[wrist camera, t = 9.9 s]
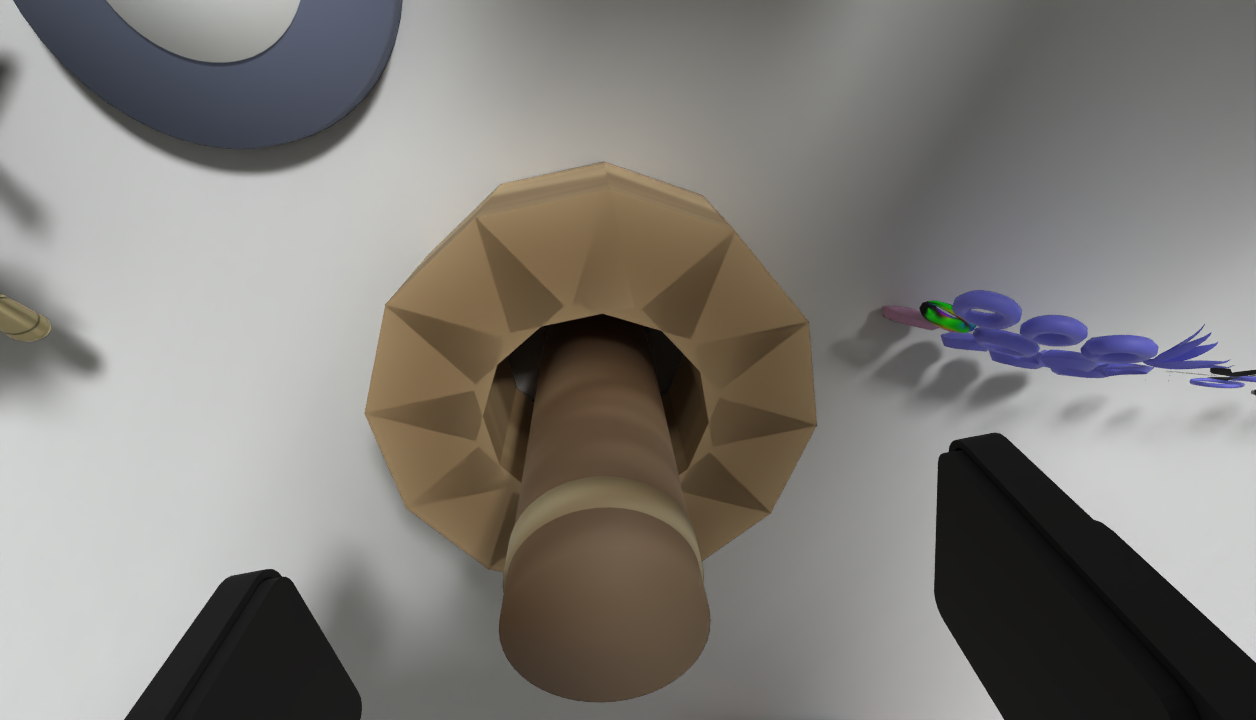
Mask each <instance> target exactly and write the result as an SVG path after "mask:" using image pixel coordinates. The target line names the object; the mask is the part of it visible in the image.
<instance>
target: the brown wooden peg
mask: <svg viewBox="0 0 1256 720" xmlns="http://www.w3.org/2000/svg"><path fill="white" fill-rule="evenodd" d="M703 583H704V573H703V565H702V561H701V557H700V552H699V548H698V544H697V539H696V535H695V532H694V528H693V525H692V523H691V521H690V519H689V517H688V514H687V509H686V505H685V500H684V496H683V492H682V487H681V483H680V478H679V474H678V470H677V465H676V461H675V456H674V452H673V448H672V443H671V439H670V434H669V430H668V425H667V421H666V417H665V412H664V408H663V403H662V399H661V395H660V390H659V386H658V381H657V377H656V373H655V368H654V364H653V359H652V355H651V351H650V346H649V342H648V337H647V334H646V331H645V328H644V326H643V325H640V324H636V323H633V322H630V321H626V320H623V319H620V318H616V317H613V316H609V315H606V314H598V315H594V316H589V317H584V318H579V319H574V320H570V321H565V322H560V323H555V324H550V325H549V327H548V329H547V332H546V335H545V339H544V345H543V351H542V358H541V364H540V370H539V376H538V383H537V389H536V395H535V401H534V408H533V414H532V420H531V427H530V433H529V439H528V445H527V452H526V458H525V464H524V470H523V477H522V483H521V489H520V496H519V502H518V508H517V514H516V521H515V526H514V528H513V530H512V533H511V536H510V540H509V545H508V551H507V557H506V563H505V569H504V575H503V592H504V596H503V602H502V608H501V615H500V622H499V635H500V642H501V645H502V648H503V651H504V653H505V655H506V657H507V659H508V661H509V662H510V663H511V665H512V666H513V667H514V669H515V670H516V671H517V672H518V673H519V674H520V675H521V676H522V677H524V678H525V679H526V680H528V681H529V682H530V683H532V684H533V685H535V686H537V687H538V688H540V689H542V690H544V691H547V692H549V693H551V694H554V695H557V696H560V697H563V698H567V699H572V700H577V701H585V702H614V701H621V700H628V699H632V698H636V697H640V696H643V695H646V694H649V693H652V692H654V691H656V690H658V689H660V688H663V687H664V686H666V685H668V684H670V683H671V682H673V681H674V680H676V679H677V678H678V677H680V676H681V675H682V674H684V673H685V672H686V671H687V670H688V669H689V668H690V667H691V666H692V665H693V664H694V662H695V661H696V660H697V659H698V657H699V656H700V654H701V652H702V651H703V649H704V647H705V644H706V642H707V639H708V635H709V631H710V621H711V620H710V611H709V606H708V602H707V597H706V593H705V589H704V584H703Z"/></svg>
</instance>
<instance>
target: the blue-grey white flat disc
mask: <svg viewBox="0 0 1256 720" xmlns="http://www.w3.org/2000/svg"><path fill="white" fill-rule="evenodd" d="M13 1H14V2H15V4H16V6H17V7H18V9H19V11H20V12H21V14H22V15H23V17H24V18H25V19H26V21H27V22H28V23H29V25H30V26H31V27H32V29H33V30H34V32H35V33H36V34H37V36H38V37H39V38H40V40H41V41H42V42H43V43H44V44H45V45H46V46H47V48H48V49H49V50H50V51H51V52H52V53H53V54H54V55H55V57H56V58H57V59H58V60H59V61H60V62H61V63H62V64H63V65H64V66H65V67H66V68H67V69H68V70H69V71H70V72H71V73H72V74H73V75H74V76H76V77H77V78H78V79H79V80H80V81H81V82H82V83H83V84H84V85H85V86H87V87H88V88H89V89H90V90H92V91H93V92H94V93H96V94H97V95H98V96H100V97H101V98H102V99H103V100H105V101H106V102H107V103H109V104H110V105H112V106H114V107H115V108H117V109H118V110H120V111H121V112H123V113H125V114H126V115H128V116H129V117H131V118H133V119H135V120H137V121H139V122H141V123H143V124H145V125H147V126H149V127H151V128H153V129H155V130H157V131H160V132H162V133H165V134H168V135H170V136H173V137H176V138H178V139H181V140H185V141H189V142H193V143H197V144H201V145H205V146H212V147H221V148H229V149H254V148H261V147H267V146H274V145H279V144H283V143H288V142H292V141H295V140H298V139H302V138H305V137H308V136H311V135H314V134H316V133H318V132H320V131H322V130H324V129H326V128H328V127H330V126H332V125H333V124H335V123H336V122H338V121H339V120H340V119H342V118H343V117H345V116H346V115H348V114H349V113H350V112H351V111H352V110H353V109H354V108H355V107H356V106H357V105H358V104H359V103H360V102H361V101H362V100H363V99H364V98H365V96H366V95H367V94H368V93H369V91H370V90H371V89H372V87H373V86H374V85H375V84H376V82H377V80H378V78H379V76H380V75H381V73H382V71H383V69H384V67H385V66H386V64H387V61H388V59H389V56H390V53H391V51H392V48H393V46H394V43H395V39H396V35H397V31H398V26H399V22H400V17H401V8H402V0H13Z"/></svg>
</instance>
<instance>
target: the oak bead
mask: <svg viewBox="0 0 1256 720" xmlns="http://www.w3.org/2000/svg"><path fill="white" fill-rule="evenodd" d="M598 314H606V315H609V316H613V317H616V318H620V319H623V320H626V321H630V322H633V323H636V324H640V325H643V326H647V327H650V328H653V329H657V330H660V331H662V332H663V333H664V334H665V335H666V336H667V337H668V338H669V339H670V340H671V341H672V342H673V343H674V344H675V345H676V347H677V348H678V349H679V350H680V351H681V352H682V353H683V354H684V355H683V357H682V360H681V362H680V364H679V367H678V369H677V372H676V374H675V377H674V379H673V382H672V384H671V387H670V389H669V391H668V392H667V393H666V394H665V395H663V396H662V397H661V399H662V403H663V408H664V412H665V417H666V421H667V425H668V430H669V434H670V439H671V443H672V448H673V452H674V456H675V461H676V465H677V470H678V474H679V478H680V483H681V487H682V492H683V496H684V500H685V505H686V509H687V514H688V517H689V519H690V521H691V523H692V525H693V528H694V532H695V535H696V539H697V544H698V548H699V552H700V557H701V561H703V560H704V559H706V558H707V557H709V556H710V555H711V554H713V553H714V552H716V551H717V550H719V549H720V548H722V547H723V546H724V545H726V544H727V543H729V542H730V541H732V540H733V539H734V538H736V537H737V536H739V535H740V534H742V533H743V532H745V531H746V530H747V529H749V528H750V527H752V526H753V525H755V524H756V523H757V522H759V521H760V520H762V519H763V518H765V517H766V516H768V515H769V514H771V512H772V510H773V508H774V506H775V504H776V502H777V500H778V498H779V496H780V495H781V493H782V491H783V489H784V487H785V485H786V483H787V481H788V479H789V477H790V476H791V474H792V472H793V470H794V468H795V466H796V464H797V462H798V460H799V458H800V457H801V455H802V453H803V451H804V449H805V447H806V445H807V443H808V441H809V439H810V438H811V436H812V434H813V432H814V430H815V428H816V426H817V420H816V408H815V395H814V383H813V370H812V358H811V346H810V333H809V321H808V320H807V319H806V318H805V317H804V316H803V314H802V313H801V312H800V311H799V309H798V308H797V307H796V306H795V304H794V303H793V302H792V301H791V299H790V298H789V297H788V296H787V295H786V293H785V292H784V291H783V290H782V288H781V287H780V286H779V285H778V283H777V282H776V281H775V280H774V279H773V277H772V276H771V275H770V274H769V272H768V271H767V270H766V269H765V267H764V266H763V265H762V264H761V262H760V261H759V260H758V259H757V258H756V256H755V255H754V254H753V253H752V251H751V250H750V249H749V248H748V246H747V245H746V244H745V243H744V242H743V240H742V239H741V238H740V237H739V235H738V234H737V233H736V232H735V230H734V229H733V228H732V227H731V226H730V225H729V224H728V223H727V222H726V220H725V219H724V218H723V217H722V216H721V215H720V214H719V213H718V212H717V211H716V210H715V209H714V207H713V206H712V205H711V204H710V203H709V202H708V201H707V200H706V199H705V198H704V197H703V196H702V195H700V194H697V193H694V192H691V191H688V190H685V189H682V188H679V187H676V186H673V185H670V184H667V183H665V182H662V181H659V180H656V179H653V178H650V177H647V176H644V175H641V174H638V173H635V172H632V171H630V170H627V169H624V168H621V167H618V166H615V165H612V164H609V163H606V162H601V163H596V164H592V165H587V166H582V167H578V168H573V169H568V170H564V171H559V172H555V173H550V174H545V175H541V176H536V177H531V178H527V179H522V180H518V181H513V182H508V183H504V184H500V185H499V186H498V187H497V188H496V189H495V190H494V191H493V192H492V193H491V194H490V195H489V196H488V197H487V198H486V199H485V200H484V201H483V202H482V203H481V204H480V205H479V206H478V207H477V208H476V209H475V210H474V211H473V212H472V213H471V214H470V215H469V216H468V217H467V218H466V219H465V220H464V221H463V222H462V223H460V224H459V225H458V226H457V227H456V228H455V229H454V230H453V231H452V232H451V233H450V234H449V235H448V236H447V237H446V238H445V239H444V240H443V241H442V242H441V243H440V244H439V245H438V246H437V247H436V248H435V249H434V250H433V251H432V252H431V253H429V255H428V256H427V257H426V258H425V259H424V260H423V262H422V263H421V264H420V265H419V266H418V267H417V269H416V270H415V271H414V272H413V273H412V274H411V275H410V277H409V278H408V279H407V280H406V281H405V282H404V284H403V285H402V286H401V287H400V288H399V289H398V291H397V292H396V293H395V294H394V295H393V296H392V297H391V299H390V300H389V301H388V302H387V303H386V304H385V310H384V315H383V320H382V325H381V330H380V336H379V341H378V346H377V351H376V357H375V362H374V367H373V372H372V377H371V383H370V388H369V393H368V398H367V404H366V409H365V415H366V418H367V420H368V422H369V425H370V427H371V429H372V431H373V434H374V436H375V438H376V440H377V443H378V445H379V447H380V450H381V452H382V454H383V456H384V459H385V461H386V463H387V465H388V468H389V470H390V472H391V475H392V477H393V479H394V481H395V484H396V486H397V488H398V491H399V493H400V495H401V497H402V500H403V502H404V504H405V506H406V508H407V509H408V510H409V511H411V512H412V513H414V514H415V515H416V516H418V517H419V518H420V519H422V520H423V521H424V522H426V523H427V524H428V525H430V526H431V527H432V528H434V529H435V530H436V531H438V532H439V533H440V534H442V535H443V536H444V537H446V538H447V539H448V540H450V541H451V542H453V543H454V544H455V545H457V546H458V547H459V548H461V549H462V550H463V551H465V552H466V553H467V554H469V555H470V556H471V557H473V558H474V559H475V560H477V561H478V562H479V563H481V564H482V565H483V566H485V567H486V568H487V569H490V570H495V571H500V572H504V569H505V563H506V557H507V551H508V545H509V540H510V536H511V533H512V530H513V528H514V526H515V521H516V514H517V508H518V502H519V496H520V489H521V483H522V477H523V470H524V464H525V458H526V452H527V445H528V439H529V433H530V427H531V420H532V414H533V408H534V402H533V401H532V400H531V399H530V398H529V397H527V396H526V395H525V394H524V393H523V392H522V391H521V390H520V389H519V388H518V387H517V386H516V383H515V379H514V376H513V373H512V370H511V367H510V363H509V360H508V357H507V356H508V355H509V354H510V353H511V352H513V351H514V350H515V349H516V348H517V347H518V346H519V345H521V344H522V343H523V342H524V341H525V340H526V339H527V338H529V337H530V336H531V335H532V334H533V333H534V332H535V331H537V330H538V329H539V328H540V327H541V326H546V325H550V324H555V323H560V322H565V321H570V320H574V319H579V318H584V317H589V316H594V315H598Z"/></svg>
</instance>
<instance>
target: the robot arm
mask: <svg viewBox="0 0 1256 720" xmlns="http://www.w3.org/2000/svg"><path fill="white" fill-rule="evenodd" d="M934 594H935V600H936V604H937V607H938V610H939V612H940V615H941V617H942V618H943V620H944V622H945V624H946V625H947V627H948V628H949V630H950V632H951V633H952V635H953V637H954V638H955V640H956V642H957V643H958V645H959V646H960V648H961V650H962V651H963V653H964V655H965V656H966V658H967V660H968V661H969V663H970V664H971V666H972V668H973V669H974V671H975V673H976V674H977V676H978V677H979V679H980V681H981V682H982V684H983V686H984V687H985V689H986V691H987V692H988V694H989V695H990V697H991V699H992V700H993V702H994V704H995V705H996V707H997V709H998V710H999V712H1000V713H1001V715H1002V717H1003V718H1004V720H1256V663H1255V662H1254V661H1253V660H1252V659H1251V658H1250V657H1249V656H1248V655H1247V654H1246V653H1245V652H1244V651H1242V650H1241V649H1240V648H1239V647H1238V646H1237V645H1236V644H1235V643H1234V642H1233V641H1232V640H1231V639H1229V638H1228V637H1227V636H1226V635H1225V634H1224V633H1223V632H1222V631H1221V630H1220V629H1219V628H1218V627H1216V626H1215V625H1214V624H1213V623H1212V622H1211V621H1210V620H1209V619H1208V618H1207V617H1206V616H1205V615H1203V614H1202V613H1201V612H1200V611H1199V610H1198V609H1197V608H1196V607H1195V606H1194V605H1193V604H1192V603H1191V602H1189V601H1188V600H1187V599H1186V598H1185V597H1184V596H1183V595H1182V594H1181V593H1180V592H1179V591H1178V590H1176V589H1175V588H1174V587H1173V586H1172V585H1171V584H1170V583H1169V582H1168V581H1167V580H1166V579H1165V578H1163V577H1162V576H1161V575H1160V574H1159V573H1158V572H1157V571H1156V570H1155V569H1154V568H1153V567H1152V566H1150V565H1149V564H1148V563H1147V562H1146V561H1145V560H1144V559H1143V558H1142V557H1141V556H1140V555H1139V554H1137V553H1136V552H1135V551H1134V550H1133V549H1132V548H1131V547H1130V546H1129V545H1128V544H1127V543H1126V542H1125V541H1123V540H1122V539H1121V538H1120V537H1119V536H1118V535H1117V534H1116V533H1115V532H1114V531H1112V530H1111V529H1110V528H1108V527H1107V526H1106V525H1104V524H1103V523H1102V522H1099V521H1096V520H1093V519H1092V518H1091V517H1090V516H1089V515H1088V514H1087V513H1086V512H1085V511H1084V510H1083V509H1082V508H1081V507H1079V506H1078V505H1077V504H1076V503H1075V502H1074V501H1073V500H1072V499H1071V498H1070V497H1069V496H1068V495H1067V494H1066V493H1065V492H1063V491H1062V490H1061V489H1060V488H1059V487H1058V486H1057V485H1056V484H1055V483H1054V482H1053V481H1052V480H1051V479H1050V478H1049V477H1047V476H1046V475H1045V474H1044V473H1043V472H1042V471H1041V470H1040V469H1039V468H1038V467H1037V466H1036V465H1035V464H1034V463H1033V462H1031V461H1030V460H1029V459H1028V458H1027V457H1026V456H1025V455H1024V454H1023V453H1022V452H1021V451H1020V450H1019V449H1018V448H1017V447H1015V446H1014V445H1013V444H1012V443H1011V442H1010V441H1009V440H1008V439H1007V438H1006V437H1004V436H1003V435H1002V434H999V433H990V434H985V435H979V436H974V437H969V438H963V439H958V440H955V441H953V442H952V443H951V445H950V447H949V452H947V453H943V454H941V455H940V456H939V460H938V482H937V515H936V548H935V581H934ZM361 712H362V702H361V697H360V695H359V692H358V691H357V689H356V687H355V686H354V684H353V682H352V681H351V679H350V677H349V675H348V674H347V672H346V670H345V669H344V667H343V665H342V664H341V662H340V660H339V659H338V657H337V655H336V654H335V652H334V650H333V649H332V647H331V645H330V644H329V642H328V640H327V639H326V637H325V635H324V634H323V632H322V630H321V629H320V627H319V625H318V624H317V622H316V620H315V619H314V617H313V615H312V614H311V612H310V610H309V609H308V607H307V605H306V604H305V602H304V600H303V599H302V597H301V595H300V594H299V592H298V590H297V588H296V587H295V585H294V583H293V582H292V581H291V580H290V579H289V578H287V577H282V576H281V575H280V574H279V572H277V571H275V570H273V569H266V570H260V571H255V572H250V573H244V574H239V575H234V576H230V577H228V578H226V579H225V580H224V581H223V582H222V583H221V584H220V585H219V586H218V588H217V589H216V591H215V592H214V594H213V595H212V596H211V598H210V599H209V601H208V602H207V603H206V605H205V606H204V608H203V609H202V610H201V612H200V613H199V615H198V616H197V618H196V619H195V620H194V622H193V623H192V625H191V626H190V627H189V629H188V630H187V632H186V633H185V634H184V636H183V637H182V639H181V640H180V642H179V643H178V644H177V646H176V647H175V649H174V650H173V651H172V653H171V654H170V656H169V657H168V658H167V660H166V661H165V663H164V664H163V666H162V667H161V668H160V670H159V671H158V673H157V674H156V675H155V677H154V678H153V680H152V681H151V682H150V684H149V685H148V687H147V688H146V690H145V691H144V692H143V694H142V695H141V697H140V698H139V699H138V701H137V702H136V704H135V705H134V706H133V708H132V709H131V711H130V712H129V714H128V715H127V716H126V718H125V719H124V720H360V718H361Z"/></svg>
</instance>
